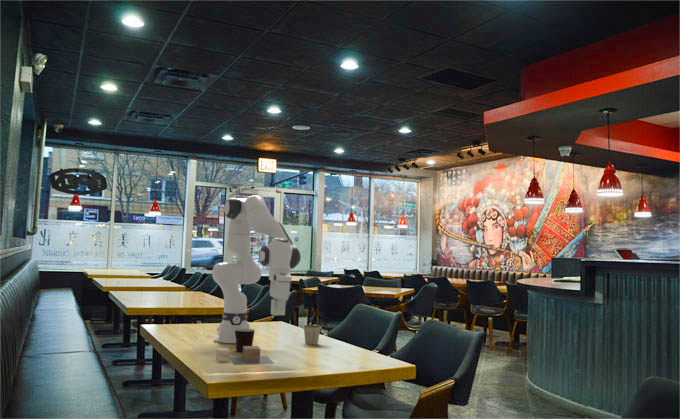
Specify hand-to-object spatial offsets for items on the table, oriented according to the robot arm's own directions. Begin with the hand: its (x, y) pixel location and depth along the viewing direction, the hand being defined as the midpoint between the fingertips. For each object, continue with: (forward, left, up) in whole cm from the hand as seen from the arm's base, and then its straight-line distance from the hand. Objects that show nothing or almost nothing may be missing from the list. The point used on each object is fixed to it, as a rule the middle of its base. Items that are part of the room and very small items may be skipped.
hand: (277, 309), depth 220 cm
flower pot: (-37, +26, -21) cm, 50 cm away
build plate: (+2, -11, -21) cm, 24 cm away
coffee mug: (-19, -10, -21) cm, 30 cm away
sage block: (0, 0, -2) cm, 2 cm away
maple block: (0, -22, -21) cm, 30 cm away
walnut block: (+2, -11, -20) cm, 23 cm away
